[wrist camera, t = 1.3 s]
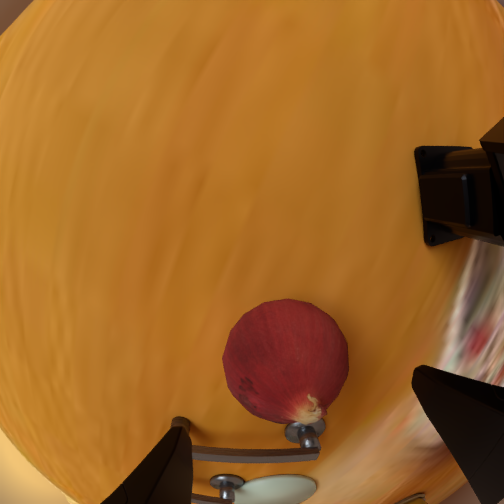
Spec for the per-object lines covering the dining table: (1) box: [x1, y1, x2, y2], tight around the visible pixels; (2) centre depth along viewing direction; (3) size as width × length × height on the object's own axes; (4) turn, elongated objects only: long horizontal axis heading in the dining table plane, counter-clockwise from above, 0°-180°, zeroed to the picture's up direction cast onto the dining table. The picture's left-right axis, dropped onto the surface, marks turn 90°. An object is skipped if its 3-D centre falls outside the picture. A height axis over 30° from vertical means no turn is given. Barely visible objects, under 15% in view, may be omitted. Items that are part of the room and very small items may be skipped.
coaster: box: [234, 474, 316, 504], centre depth 20 cm, size 9×9×1 cm
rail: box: [171, 417, 325, 504], centre depth 16 cm, size 15×12×3 cm
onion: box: [222, 299, 349, 425], centre depth 12 cm, size 6×6×8 cm
